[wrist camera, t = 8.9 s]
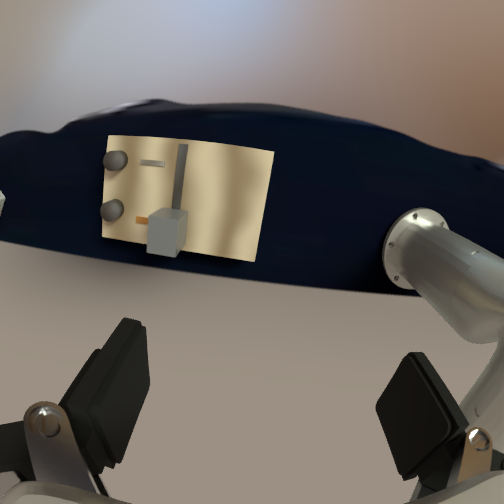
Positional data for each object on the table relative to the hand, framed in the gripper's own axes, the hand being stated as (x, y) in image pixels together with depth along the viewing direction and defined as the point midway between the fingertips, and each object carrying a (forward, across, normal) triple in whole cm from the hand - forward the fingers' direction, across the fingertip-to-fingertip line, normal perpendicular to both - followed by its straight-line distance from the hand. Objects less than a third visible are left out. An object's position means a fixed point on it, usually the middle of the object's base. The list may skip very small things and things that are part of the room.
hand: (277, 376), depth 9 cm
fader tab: (+24, +10, +3) cm, 26 cm away
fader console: (+28, +10, -1) cm, 30 cm away
